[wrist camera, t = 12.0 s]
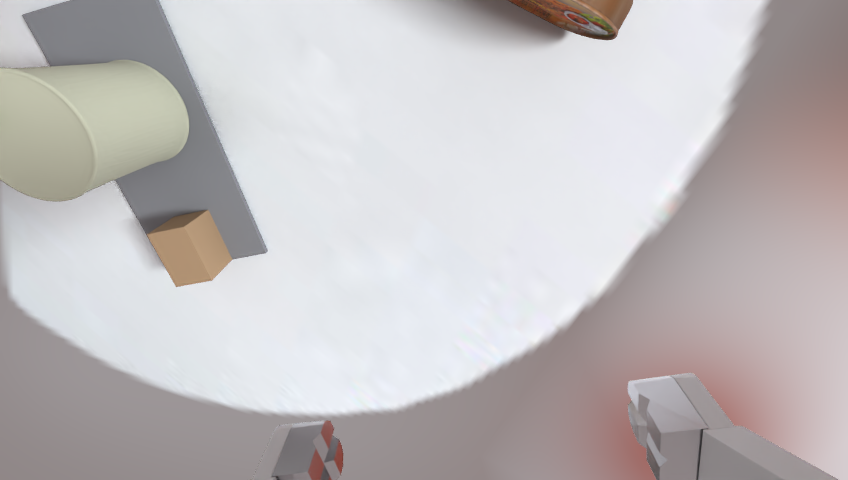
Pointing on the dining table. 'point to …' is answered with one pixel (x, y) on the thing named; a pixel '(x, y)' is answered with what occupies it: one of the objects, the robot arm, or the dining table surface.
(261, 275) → the dining table surface
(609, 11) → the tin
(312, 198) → the dining table surface
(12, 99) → the can
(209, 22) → the dining table surface
